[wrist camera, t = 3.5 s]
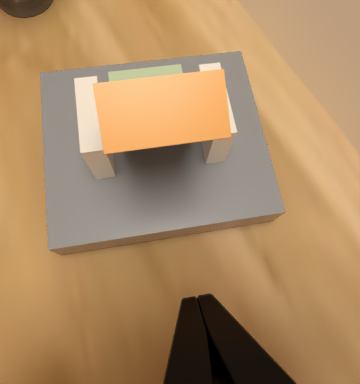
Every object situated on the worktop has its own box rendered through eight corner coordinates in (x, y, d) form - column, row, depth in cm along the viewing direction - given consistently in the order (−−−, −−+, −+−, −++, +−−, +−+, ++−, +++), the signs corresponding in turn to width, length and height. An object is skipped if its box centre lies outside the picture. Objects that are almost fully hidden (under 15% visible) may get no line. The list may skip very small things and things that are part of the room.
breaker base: (272, 221, 22) (313, 193, 16) (62, 255, 20) (18, 238, 14) (233, 74, 25) (255, 5, 19) (52, 94, 24) (14, 27, 18)
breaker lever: (193, 143, 20) (231, 137, 12) (121, 153, 20) (103, 153, 11) (189, 105, 20) (223, 68, 11) (115, 114, 19) (92, 83, 11)
